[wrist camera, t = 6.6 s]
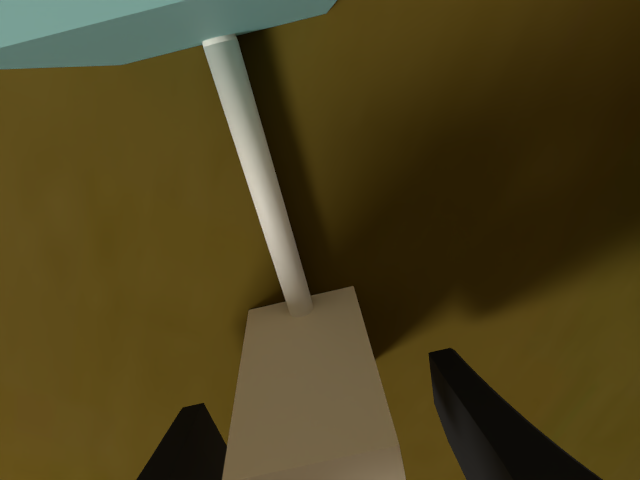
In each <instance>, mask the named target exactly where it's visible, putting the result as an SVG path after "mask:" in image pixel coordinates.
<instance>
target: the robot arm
mask: <svg viewBox="0 0 640 480" xmlns="http://www.w3.org/2000/svg"><path fill="white" fill-rule="evenodd" d="M429 361H430V370H431V379H432V387H433V396H434V404H435V406H436V409H437V412H438V415H439V417H440V420H441V423H442V426H443V428H444V431H445V434H446V436H447V439H448V442H449V444H450V446H451V448H452V450H453V452H454V454H455V456H456V458H457V460H458V463H459V465H460V467H461V469H462V471H463V473H464V475H465V477H466V479H467V480H602V479H601V478H600V477H598V476H597V475H596V474H594V473H593V472H592V471H590V470H589V469H587V468H586V467H585V466H583V465H582V464H581V463H579V462H578V461H577V460H576V459H574V458H573V457H572V456H570V455H569V454H568V453H567V452H565V451H564V450H563V449H561V448H560V447H559V446H558V445H556V444H555V443H554V442H553V441H552V440H550V439H549V438H548V437H547V436H545V435H544V434H543V433H542V432H541V431H539V430H538V429H537V428H536V427H535V426H533V425H532V424H531V423H530V422H529V421H528V420H526V419H525V418H524V417H523V416H522V415H521V414H520V413H518V412H517V411H516V410H515V409H514V408H513V407H512V406H511V405H510V404H508V403H507V402H506V401H505V400H504V399H503V398H502V397H501V396H500V395H498V394H497V393H496V392H495V391H494V390H493V389H492V388H491V387H490V386H489V385H488V384H487V383H486V382H485V381H484V380H483V379H482V378H481V377H480V376H479V375H478V374H477V373H476V372H475V371H474V370H473V369H472V368H471V367H470V366H469V365H468V364H467V363H466V362H465V361H464V360H463V359H462V358H461V357H460V356H459V355H458V353H457V352H456V351H455V350H453V349H452V348H448V349H443V350H439V351H434V352H430V353H429ZM226 451H227V446H226V444H225V442H224V440H223V438H222V436H221V435H220V433H219V431H218V429H217V427H216V425H215V423H214V422H213V420H212V418H211V416H210V414H209V412H208V410H207V408H206V407H205V405H204V403H201V404H197V405H192V406H188V407H183V408H182V409H181V411H180V412H179V414H178V415H177V417H176V419H175V420H174V422H173V423H172V425H171V426H170V428H169V430H168V431H167V433H166V434H165V436H164V437H163V439H162V441H161V442H160V444H159V445H158V447H157V449H156V450H155V452H154V453H153V455H152V456H151V458H150V460H149V461H148V463H147V464H146V466H145V467H144V469H143V470H142V472H141V473H140V475H139V477H138V478H137V480H222V476H223V470H224V463H225V457H226Z"/></svg>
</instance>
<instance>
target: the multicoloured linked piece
mask: <svg viewBox="0 0 640 480" xmlns="http://www.w3.org/2000/svg"><path fill="white" fill-rule="evenodd" d="M336 1H337V0H0V69H20V68H48V67H77V66H105V65H123V64H127V63H131V62H135V61H139V60H143V59H147V58H151V57H155V56H159V55H163V54H167V53H171V52H175V51H179V50H183V49H187V48H191V47H195V46H199V45H203V48H204V51H205V54H206V57H207V60H208V63H209V67H210V70H211V73H212V76H213V79H214V82H215V85H216V88H217V91H218V94H219V97H220V100H221V103H222V107H223V110H224V113H225V116H226V119H227V122H228V125H229V128H230V131H231V134H232V137H233V140H234V143H235V146H236V150H237V153H238V156H239V159H240V162H241V165H242V168H243V171H244V174H245V177H246V180H247V183H248V186H249V190H250V193H251V196H252V199H253V202H254V205H255V208H256V211H257V214H258V217H259V220H260V223H261V226H262V230H263V233H264V236H265V239H266V242H267V245H268V248H269V251H270V254H271V257H272V260H273V263H274V266H275V270H276V273H277V276H278V279H279V282H280V285H281V288H282V291H283V294H284V297H285V300H286V302H281V303H277V304H273V305H268V306H264V307H259V308H255V309H251V310H249V311H248V318H247V324H246V330H245V337H244V343H243V349H242V356H241V362H240V368H239V375H238V381H237V387H236V394H235V400H234V406H233V413H232V419H231V425H230V432H229V438H228V444H227V451H226V457H225V463H224V470H223V476H222V480H406V477H405V472H404V467H403V462H402V457H401V452H400V447H399V443H398V439H397V436H396V432H395V429H394V425H393V422H392V418H391V415H390V411H389V408H388V404H387V401H386V397H385V394H384V390H383V387H382V383H381V380H380V376H379V373H378V369H377V366H376V362H375V359H374V355H373V352H372V348H371V345H370V342H369V338H368V335H367V331H366V328H365V324H364V321H363V317H362V314H361V310H360V307H359V303H358V300H357V296H356V293H355V289H354V286H351V287H347V288H342V289H338V290H333V291H329V292H325V293H320V294H316V295H312V296H310V292H309V289H308V285H307V282H306V278H305V275H304V271H303V268H302V264H301V261H300V257H299V254H298V250H297V247H296V243H295V239H294V236H293V232H292V229H291V225H290V222H289V218H288V215H287V211H286V208H285V204H284V201H283V197H282V194H281V190H280V187H279V183H278V180H277V176H276V173H275V169H274V166H273V162H272V159H271V155H270V152H269V148H268V145H267V141H266V138H265V134H264V131H263V127H262V124H261V120H260V117H259V113H258V110H257V106H256V103H255V99H254V95H253V92H252V88H251V85H250V81H249V78H248V74H247V71H246V67H245V64H244V60H243V57H242V53H241V50H240V46H239V43H238V39H237V37H236V36H239V35H242V34H246V33H250V32H254V31H258V30H262V29H266V28H270V27H274V26H278V25H282V24H286V23H290V22H294V21H298V20H302V19H306V18H310V17H314V16H318V15H322V14H326V13H327V12H328V11H329V9H330V8H331V7H332V6H333V5H334V3H335V2H336Z"/></svg>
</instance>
